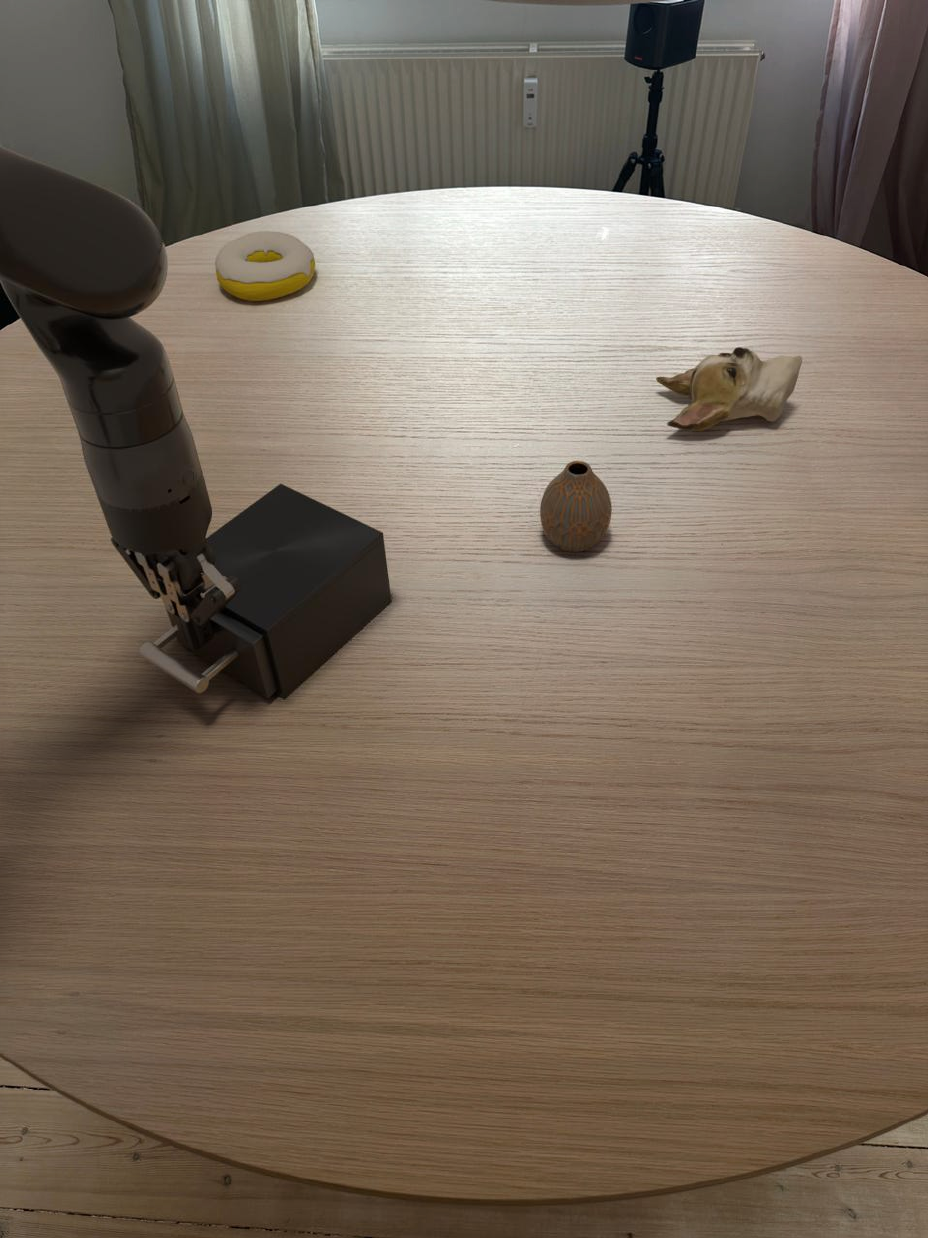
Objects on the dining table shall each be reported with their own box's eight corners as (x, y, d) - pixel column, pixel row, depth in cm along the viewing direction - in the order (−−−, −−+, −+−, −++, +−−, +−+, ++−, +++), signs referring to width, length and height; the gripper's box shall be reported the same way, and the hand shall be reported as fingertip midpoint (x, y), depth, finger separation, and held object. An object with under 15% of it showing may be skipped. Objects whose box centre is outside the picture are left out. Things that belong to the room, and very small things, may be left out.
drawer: (226, 736, 81) (207, 682, 76) (135, 676, 86) (113, 622, 81) (370, 606, 91) (362, 551, 86) (281, 559, 96) (269, 505, 91)
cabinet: (284, 699, 85) (266, 630, 79) (185, 638, 90) (161, 570, 84) (392, 601, 93) (383, 532, 87) (295, 551, 98) (280, 482, 92)
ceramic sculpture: (816, 369, 102) (670, 381, 103) (804, 439, 108) (666, 449, 109) (793, 318, 109) (657, 330, 110) (782, 386, 115) (654, 396, 117)
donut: (219, 265, 143) (211, 231, 139) (313, 254, 144) (308, 220, 141) (219, 311, 133) (211, 277, 130) (321, 299, 135) (316, 264, 131)
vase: (567, 571, 95) (571, 500, 89) (525, 533, 99) (526, 463, 93) (623, 543, 97) (630, 472, 91) (579, 507, 101) (584, 437, 95)
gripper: (46, 467, 71) (112, 634, 83) (169, 534, 65) (221, 704, 77) (128, 419, 75) (179, 585, 87) (250, 478, 69) (287, 647, 82)
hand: (199, 640), depth 82 cm, fingers closed
